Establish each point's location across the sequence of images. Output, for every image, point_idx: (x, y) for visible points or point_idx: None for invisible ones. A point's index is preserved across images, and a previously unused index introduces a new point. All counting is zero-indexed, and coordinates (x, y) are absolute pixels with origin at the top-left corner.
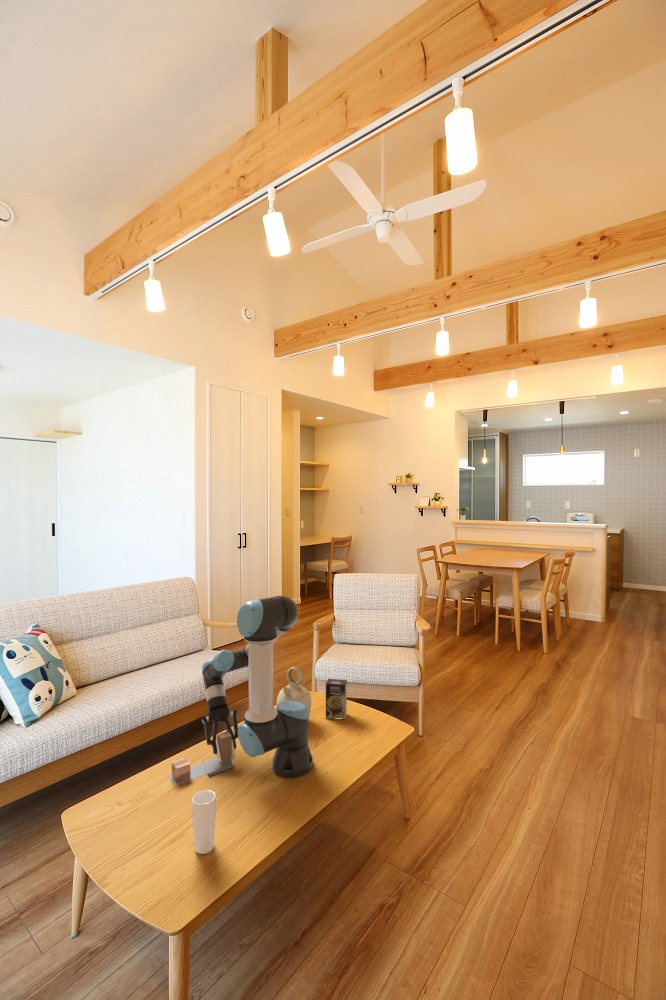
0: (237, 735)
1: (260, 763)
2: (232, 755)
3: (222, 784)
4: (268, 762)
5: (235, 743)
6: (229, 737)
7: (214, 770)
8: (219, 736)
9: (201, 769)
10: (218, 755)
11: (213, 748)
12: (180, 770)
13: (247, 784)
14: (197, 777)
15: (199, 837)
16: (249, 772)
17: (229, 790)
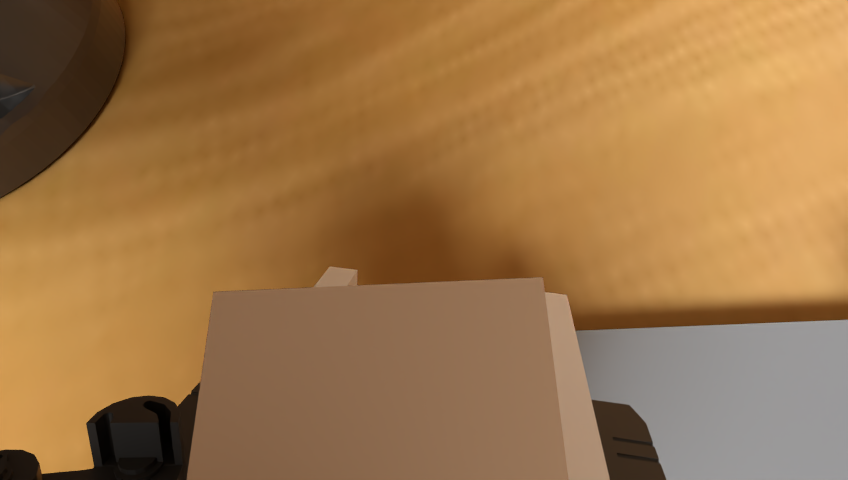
0: (17, 463)
1: (110, 255)
2: None
3: (570, 146)
4: (45, 228)
5: (194, 399)
6: (291, 299)
7: (605, 346)
8: (557, 458)
9: (764, 468)
10: (573, 335)
11: (662, 476)
12: None
13: (383, 51)
14: (828, 324)
15: None
16: (281, 180)
17: (540, 53)
